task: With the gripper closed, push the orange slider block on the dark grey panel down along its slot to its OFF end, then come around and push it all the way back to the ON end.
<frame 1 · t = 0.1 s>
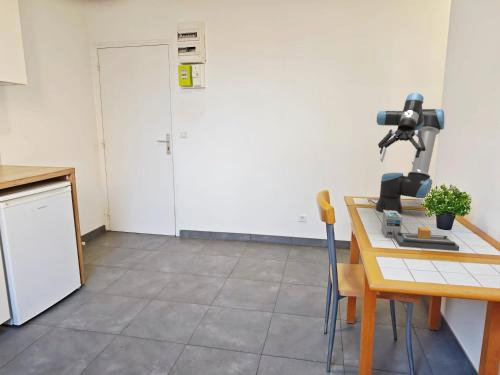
hand: (396, 161, 149), 36 cm above the table, tool tilted 35°, fingers open, 13 cm apart
light bulb box: (390, 234, 160), on the table
panel: (424, 244, 148), on the table
slider block: (423, 234, 147), point 5 cm above the table, slide at 5.0 cm
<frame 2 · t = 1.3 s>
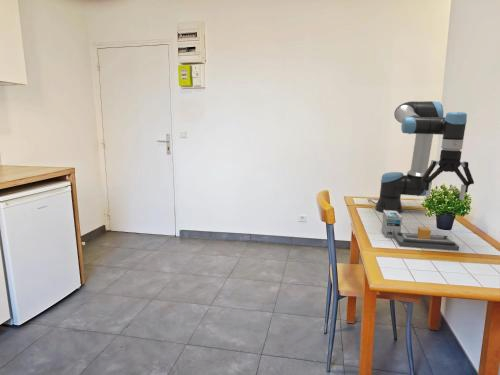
hand: (444, 198, 143), 21 cm above the table, tool pointing down, fingers open, 13 cm apart
nothing on the table moved.
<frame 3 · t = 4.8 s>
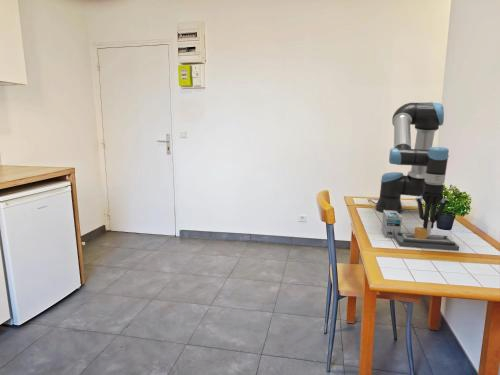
hand: (426, 235, 147), 4 cm above the table, tool pointing down, fingers closed
slider block: (420, 233, 148), point 5 cm above the table, slide at 3.6 cm, touching gripper
everything else where it was.
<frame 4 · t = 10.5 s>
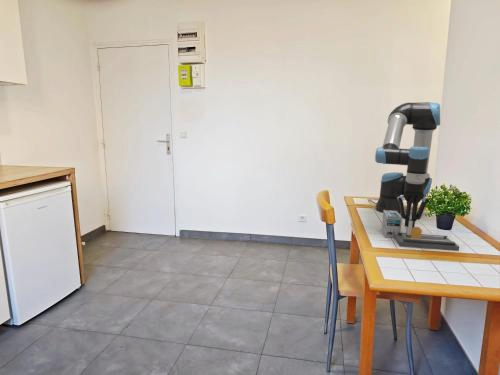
hand: (408, 233, 148), 4 cm above the table, tool pointing down, fingers closed
slider block: (414, 233, 148), point 5 cm above the table, slide at 1.3 cm, touching gripper
everything else where it was.
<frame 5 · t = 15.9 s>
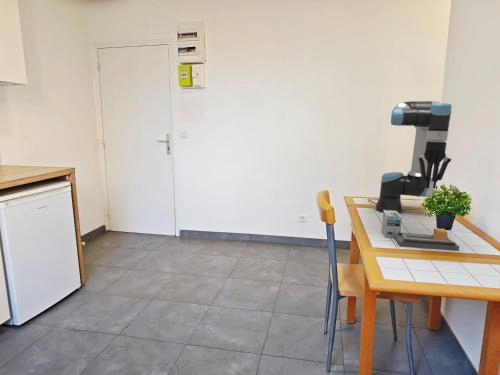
hand: (429, 195, 144), 22 cm above the table, tool pointing down, fingers closed
slider block: (439, 235, 146), point 5 cm above the table, slide at 11.7 cm
everything else where it was.
at the end: slider block slide at 11.7 cm; slider block touching nothing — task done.
